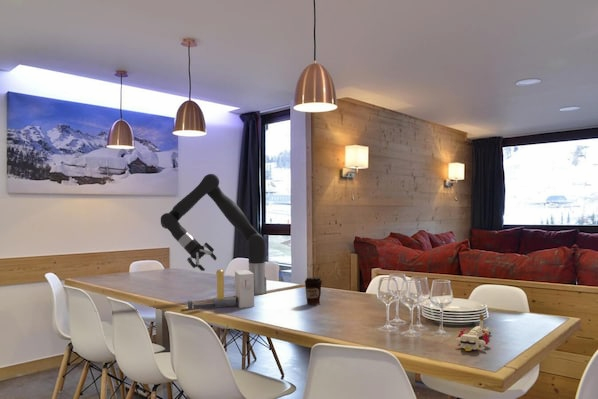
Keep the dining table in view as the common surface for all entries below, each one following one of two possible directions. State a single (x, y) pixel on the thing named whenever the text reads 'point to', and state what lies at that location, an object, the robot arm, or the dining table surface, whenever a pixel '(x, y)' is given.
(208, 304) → the rail
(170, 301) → the dining table surface
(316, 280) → the coffee cup
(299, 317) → the dining table surface
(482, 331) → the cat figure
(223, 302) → the gold sphere topped award
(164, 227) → the robot arm
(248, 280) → the cabinet
